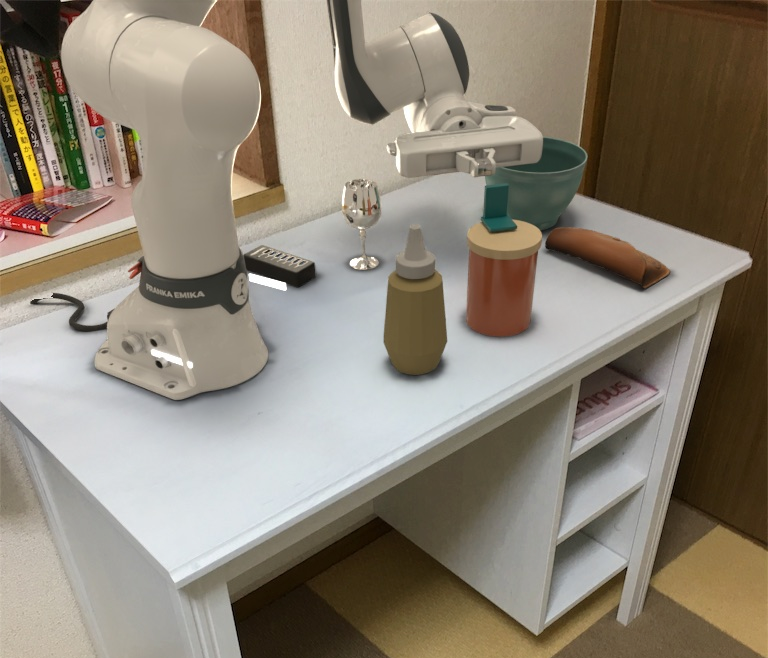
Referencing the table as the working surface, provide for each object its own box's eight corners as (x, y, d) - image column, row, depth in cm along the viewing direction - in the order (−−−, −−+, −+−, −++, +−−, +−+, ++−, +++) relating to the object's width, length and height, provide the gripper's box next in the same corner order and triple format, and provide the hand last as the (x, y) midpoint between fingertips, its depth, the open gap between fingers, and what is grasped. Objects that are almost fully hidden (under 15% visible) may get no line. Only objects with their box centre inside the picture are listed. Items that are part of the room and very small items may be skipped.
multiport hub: (298, 288, 120) (296, 273, 118) (244, 269, 125) (241, 254, 123) (317, 276, 122) (316, 261, 121) (263, 258, 127) (261, 244, 126)
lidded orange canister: (540, 331, 109) (549, 253, 102) (477, 340, 108) (481, 262, 100) (517, 300, 115) (524, 225, 108) (457, 309, 114) (460, 233, 107)
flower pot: (584, 206, 139) (594, 139, 131) (570, 246, 127) (579, 176, 120) (491, 197, 143) (495, 132, 135) (469, 235, 131) (472, 166, 124)
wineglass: (375, 274, 122) (372, 194, 114) (340, 269, 124) (334, 190, 116) (388, 257, 126) (386, 179, 118) (353, 253, 128) (349, 175, 120)
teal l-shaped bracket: (517, 228, 104) (520, 194, 101) (490, 232, 103) (492, 197, 100) (506, 216, 106) (509, 182, 103) (480, 219, 106) (482, 185, 103)
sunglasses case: (675, 269, 120) (670, 238, 114) (646, 305, 119) (640, 276, 114) (577, 232, 130) (568, 203, 124) (550, 266, 129) (540, 238, 124)
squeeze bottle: (441, 384, 101) (445, 244, 88) (377, 378, 102) (372, 240, 90) (451, 349, 106) (455, 214, 94) (390, 344, 108) (387, 210, 95)
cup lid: (552, 254, 101) (553, 245, 101) (480, 263, 100) (480, 254, 99) (525, 224, 108) (526, 215, 107) (458, 232, 107) (458, 223, 106)
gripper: (383, 119, 113) (407, 154, 103) (523, 105, 116) (560, 136, 106) (384, 166, 117) (408, 203, 107) (519, 150, 120) (554, 185, 110)
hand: (485, 170), depth 106 cm, fingers closed
